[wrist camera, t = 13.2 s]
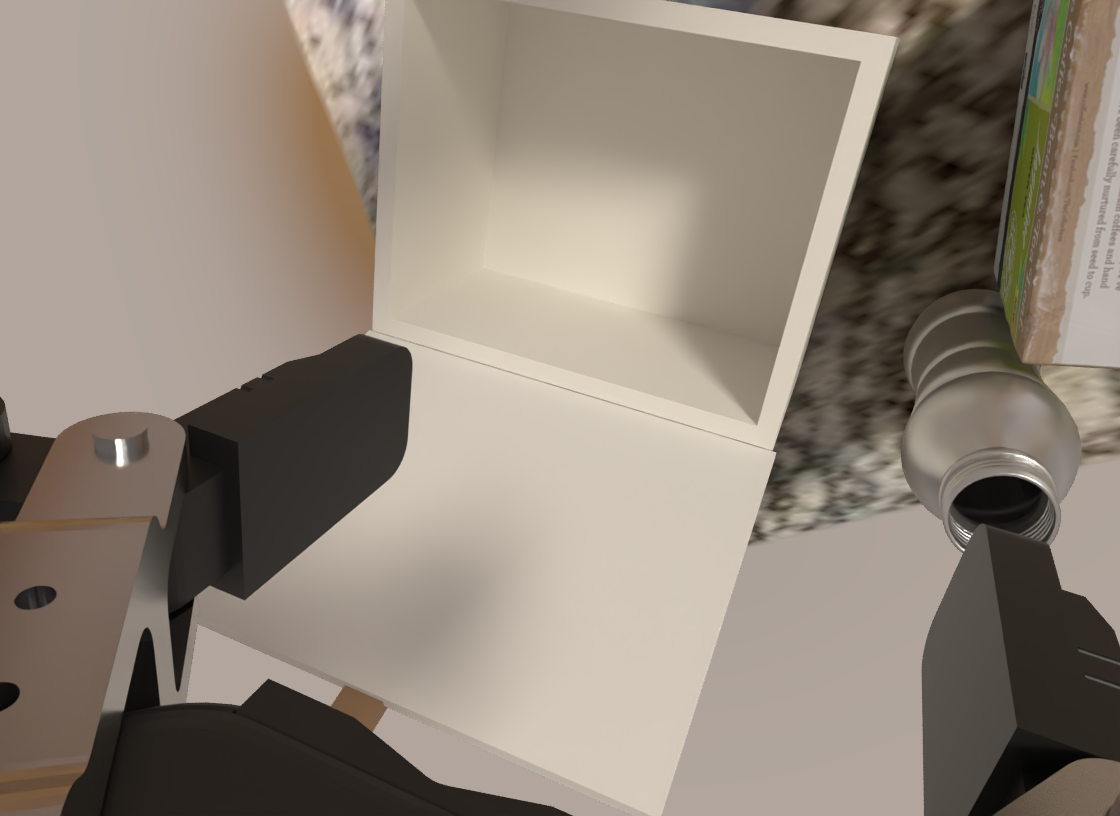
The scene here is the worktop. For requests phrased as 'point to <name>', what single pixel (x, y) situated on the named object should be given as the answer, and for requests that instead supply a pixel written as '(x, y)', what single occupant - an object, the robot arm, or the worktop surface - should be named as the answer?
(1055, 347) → the tea box
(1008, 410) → the plastic bottle
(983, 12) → the worktop surface
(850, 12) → the worktop surface
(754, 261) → the carton
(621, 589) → the carton lid
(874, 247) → the worktop surface
